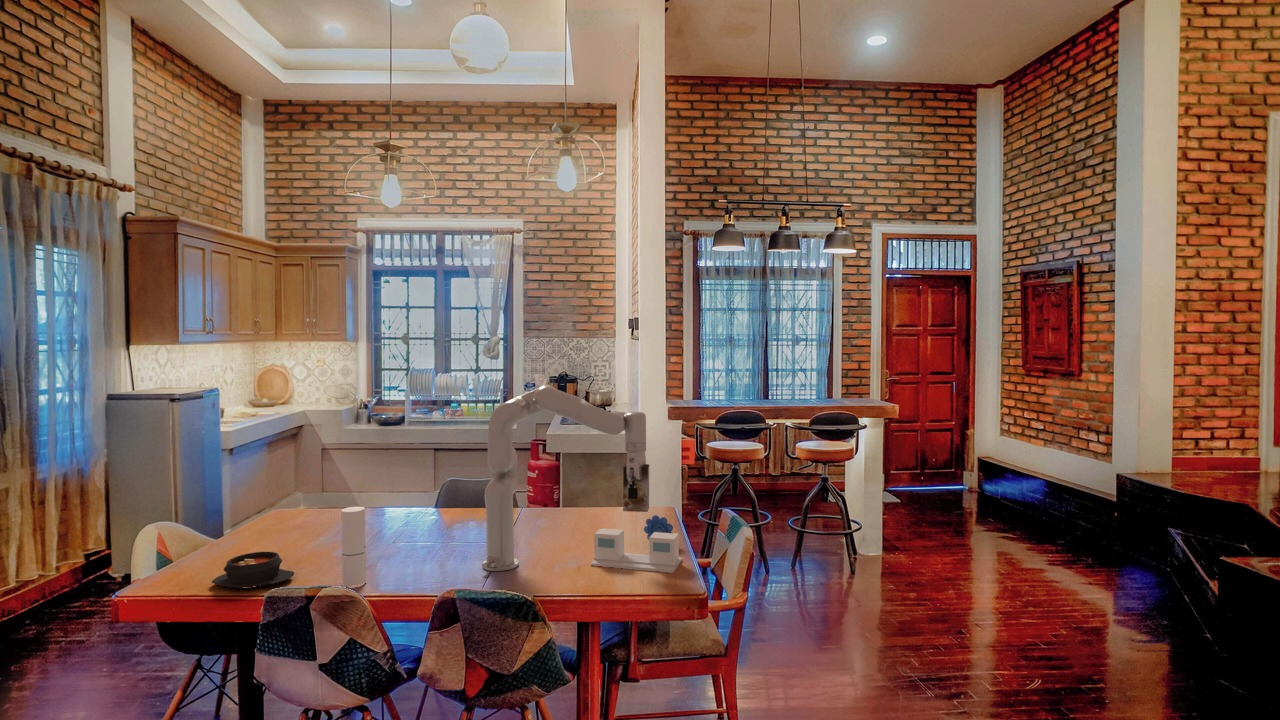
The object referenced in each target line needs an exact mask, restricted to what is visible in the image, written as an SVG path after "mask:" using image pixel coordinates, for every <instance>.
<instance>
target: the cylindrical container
mask: <svg viewBox="0 0 1280 720" xmlns="http://www.w3.org/2000/svg"><path fill="white" fill-rule="evenodd" d="M340 513H341V519H340V521H341V556H342V557H341V562H342V564H341V565H342V566H341V567H342V568H341V569H342V587H343V586H347V587H349V586H352V585H358V584H361V583H364V582H365V581H366V582H367V552H366V507H364V506H348V507H345V508H342V509H341V511H340ZM343 584H344V585H343Z"/></svg>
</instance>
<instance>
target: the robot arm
mask: <svg viewBox="0 0 1280 720" xmlns="http://www.w3.org/2000/svg"><path fill="white" fill-rule="evenodd" d="M543 411H545V412H547V413H551V414H554V415H557V416H560V417H562V418H565V419H568V420H570V421H573V422H575V423H578V424H581V425H583V426H586V427H587V428H591V430H592V429H593V430H595V431H598V432H602V433H604V434H607V435H610V436H617V435H620V434H621V433H623V432H624V451H625V452H627V454H626V464H627V479H628V498H629V499H637V488H636V486H637V479H638V480H641V467H642V466H644V465H645V464H647V459H646V451H647V416H646V413H644V412H641V411H630V412H623V411H617V410H616V411H615V410H614V411H613V410H612V411H608V410H605V409H602V408H599V407H597V406H595V405H593V404H591V403H590V402H588V401H587V400H586V399H583V398H582V397H580V396H577V395H574V394H570V393H568V392H566V391H562V390H560V389H557V388H556V387H555V386H552V385H550V384H544V385H541V386H540V387H537V388H534V389H533V390H531V391H529V392H525V393H524V394H521V395H519V396H515V397H514V398H510V399H509V400H507V401H505V402H503V403H502V404H500V405H499V406H497V407H496V408H495V409H494V410H493V412H492V413H491V415H490V418H489V421H488V435H487V456H486V457H487V460H486V462H487V466H488V469H489V470H490V472H491V476H490V480H489V481H488V483H487V485H486V487H485V489H484V490H485V491H484V504H485V516H486V517H485V521H486V522H485V523H486V525H485V527H486V560H485V561H483V562H482V564H481V567H482V569H484V570H486V571H489V572H505V571H510V570H513V569H515V568H517V567H519V563H520V561H519V560H518V559H517V558H515V533H514V532H515V528H514V526H515V523H514V522H515V520H514V502H513V497H514V494H515V492H516V490H517V486H518V453H517V450H516V449H515V448H514V446H513V439H514V438H513V428H514V426H515V425H516V424H518V423H520V422H522V421H524V420H525V419H527V418H529V417H531V416H534V415H536V414H539V413H540V412H543ZM633 477H636V479H632V478H633ZM634 481H635V484H634Z"/></svg>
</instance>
